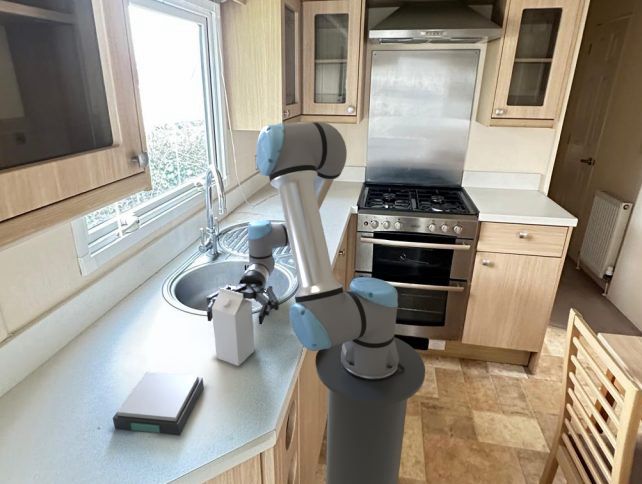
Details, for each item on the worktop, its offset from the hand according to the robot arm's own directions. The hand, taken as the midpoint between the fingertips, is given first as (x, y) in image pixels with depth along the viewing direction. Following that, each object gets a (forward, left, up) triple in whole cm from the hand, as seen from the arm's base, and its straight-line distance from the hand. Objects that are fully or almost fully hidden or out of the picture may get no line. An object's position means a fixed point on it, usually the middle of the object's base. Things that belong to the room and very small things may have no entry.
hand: (234, 318), depth 104 cm
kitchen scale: (+11, +21, -10) cm, 26 cm away
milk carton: (0, +1, -11) cm, 11 cm away
